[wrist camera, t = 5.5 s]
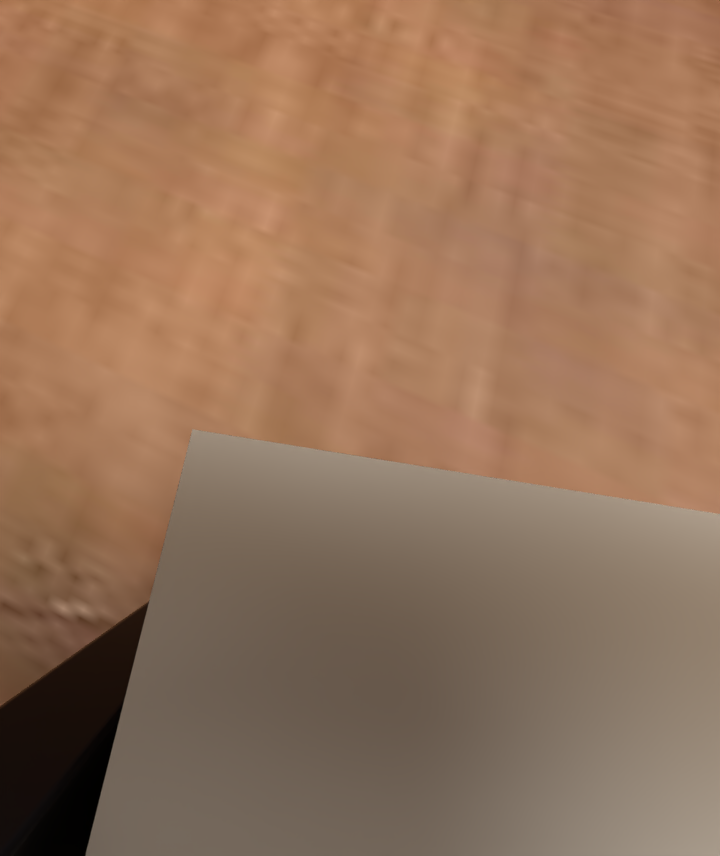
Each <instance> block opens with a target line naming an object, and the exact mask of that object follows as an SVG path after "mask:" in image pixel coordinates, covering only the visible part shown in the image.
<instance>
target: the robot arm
mask: <svg viewBox="0 0 720 856" xmlns="http://www.w3.org/2000/svg"><path fill="white" fill-rule="evenodd" d="M148 604H149V602H147V603H146V604H144V605H143V606H142V607H140V608H139V609H137V610H136V611H135V612H133V613H132V614H130V615H129V616H127V617H126V618H125V619H123V620H122V621H120V622H119V623H118V624H116V625H115V626H113V627H112V628H110V629H109V630H108V631H106V632H105V633H103V634H102V635H101V636H99V637H98V638H96V639H95V640H94V641H92V642H91V643H89V644H88V645H86V646H85V647H84V648H82V649H81V650H79V651H78V652H77V653H75V654H74V655H72V656H71V657H70V658H68V659H67V660H65V661H64V662H62V663H61V664H60V665H58V666H57V667H55V668H54V669H53V670H51V671H50V672H48V673H47V674H45V675H44V676H43V677H41V678H40V679H38V680H37V681H36V682H34V683H33V684H31V685H30V686H29V687H27V688H26V689H24V690H23V691H21V692H20V693H19V694H17V695H16V696H14V697H13V698H12V699H10V700H9V701H7V702H6V703H5V704H3V705H2V706H0V856H85V855H86V851H87V847H88V843H89V839H90V835H91V831H92V827H93V823H94V819H95V815H96V811H97V807H98V803H99V799H100V795H101V791H102V787H103V783H104V779H105V775H106V771H107V767H108V763H109V759H110V755H111V751H112V747H113V743H114V739H115V735H116V731H117V727H118V723H119V719H120V715H121V711H122V708H123V704H124V700H125V696H126V692H127V688H128V684H129V680H130V676H131V672H132V668H133V664H134V660H135V656H136V652H137V648H138V644H139V640H140V636H141V632H142V628H143V624H144V620H145V616H146V612H147V608H148Z"/></svg>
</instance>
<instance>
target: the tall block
mask: <svg viewBox="0 0 720 856" xmlns="http://www.w3.org/2000/svg"><path fill="white" fill-rule="evenodd" d="M85 856H720V514H716V513H710V512H703V511H697V510H691V509H685V508H679V507H672V506H666V505H660V504H654V503H648V502H641V501H635V500H629V499H623V498H616V497H610V496H604V495H598V494H592V493H585V492H579V491H573V490H567V489H560V488H554V487H548V486H542V485H536V484H529V483H523V482H517V481H511V480H504V479H498V478H492V477H486V476H480V475H473V474H467V473H461V472H455V471H448V470H442V469H436V468H430V467H424V466H417V465H411V464H405V463H399V462H392V461H386V460H380V459H374V458H368V457H361V456H355V455H349V454H343V453H336V452H330V451H324V450H318V449H312V448H305V447H299V446H293V445H287V444H281V443H274V442H268V441H262V440H256V439H249V438H243V437H237V436H231V435H225V434H218V433H212V432H206V431H200V430H193V429H192V433H191V437H190V441H189V445H188V449H187V453H186V457H185V461H184V465H183V469H182V473H181V477H180V481H179V485H178V489H177V493H176V497H175V501H174V505H173V509H172V513H171V517H170V521H169V525H168V529H167V533H166V537H165V541H164V545H163V549H162V553H161V557H160V561H159V565H158V568H157V572H156V576H155V580H154V584H153V588H152V592H151V596H150V600H149V604H148V608H147V612H146V616H145V620H144V624H143V628H142V632H141V636H140V640H139V644H138V648H137V652H136V656H135V660H134V664H133V668H132V672H131V676H130V680H129V684H128V688H127V692H126V696H125V700H124V704H123V708H122V711H121V715H120V719H119V723H118V727H117V731H116V735H115V739H114V743H113V747H112V751H111V755H110V759H109V763H108V767H107V771H106V775H105V779H104V783H103V787H102V791H101V795H100V799H99V803H98V807H97V811H96V815H95V819H94V823H93V827H92V831H91V835H90V839H89V843H88V847H87V851H86V855H85Z"/></svg>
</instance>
